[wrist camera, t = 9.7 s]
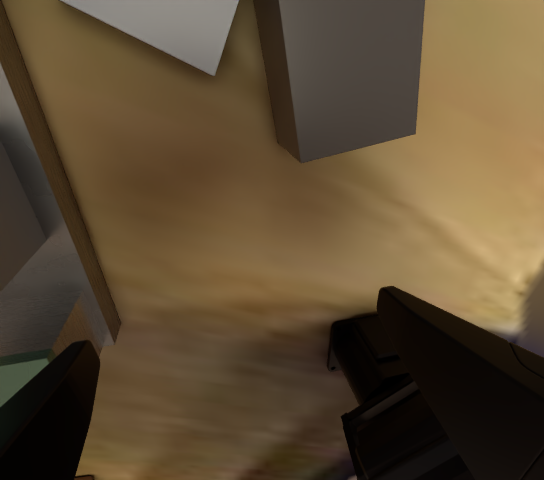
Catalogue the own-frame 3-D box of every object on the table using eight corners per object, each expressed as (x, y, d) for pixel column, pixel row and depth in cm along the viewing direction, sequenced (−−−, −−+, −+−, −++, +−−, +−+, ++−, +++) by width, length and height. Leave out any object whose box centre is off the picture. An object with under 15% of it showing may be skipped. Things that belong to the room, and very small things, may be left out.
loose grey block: (366, 120, 19) (415, 134, 15) (277, 142, 18) (301, 163, 14) (364, -48, 15) (431, -95, 11) (248, -25, 14) (269, -66, 10)
